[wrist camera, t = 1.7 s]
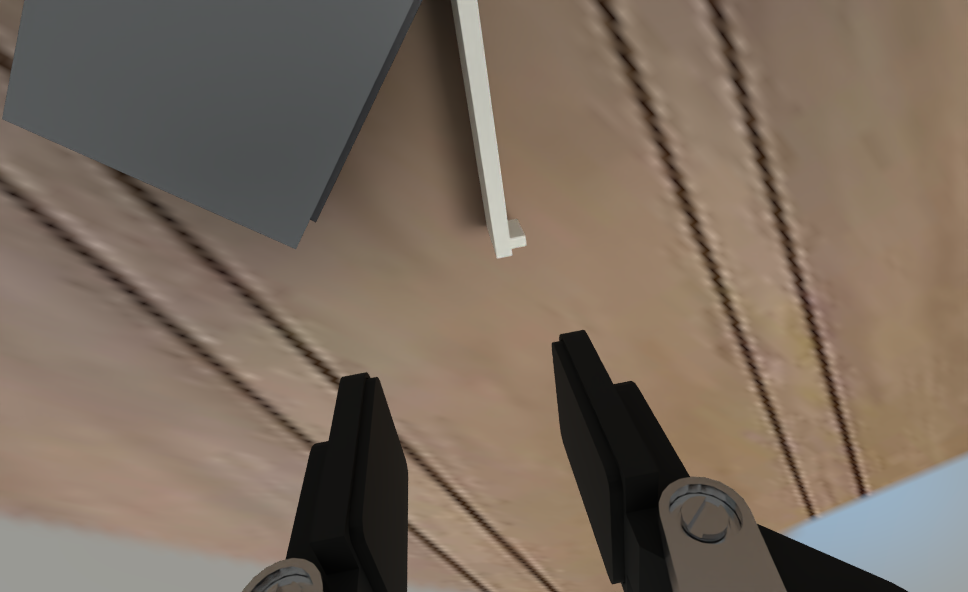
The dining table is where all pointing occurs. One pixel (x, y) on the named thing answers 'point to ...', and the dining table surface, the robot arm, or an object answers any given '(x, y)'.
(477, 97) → the light grey flat bar
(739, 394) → the dining table surface
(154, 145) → the gray button box
